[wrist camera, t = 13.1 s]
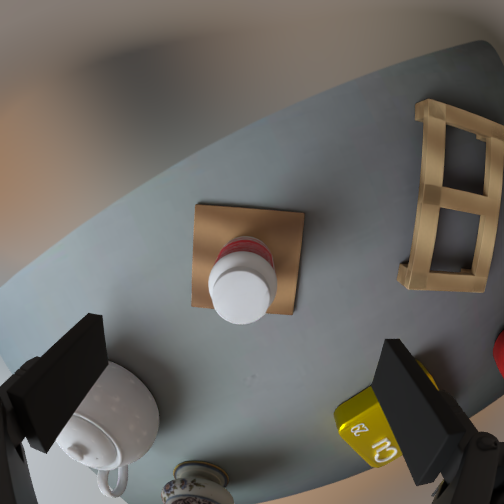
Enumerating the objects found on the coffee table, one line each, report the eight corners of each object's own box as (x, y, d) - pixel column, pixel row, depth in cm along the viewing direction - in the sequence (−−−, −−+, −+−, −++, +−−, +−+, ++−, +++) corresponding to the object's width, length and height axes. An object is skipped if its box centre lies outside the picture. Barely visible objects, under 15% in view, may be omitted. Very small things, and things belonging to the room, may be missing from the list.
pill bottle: (210, 244, 36) (191, 273, 25) (264, 228, 35) (267, 250, 25) (228, 294, 37) (217, 340, 26) (279, 280, 37) (288, 322, 26)
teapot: (48, 392, 43) (9, 440, 29) (84, 325, 39) (31, 376, 26) (136, 455, 45) (114, 512, 32) (191, 403, 42) (172, 475, 28)
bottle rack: (414, 103, 32) (428, 98, 29) (488, 128, 32) (504, 126, 29) (396, 280, 37) (407, 289, 34) (470, 284, 37) (484, 292, 34)
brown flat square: (196, 204, 35) (195, 204, 35) (304, 212, 35) (304, 213, 35) (192, 304, 38) (191, 306, 38) (292, 313, 38) (292, 315, 38)
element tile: (443, 406, 42) (455, 422, 37) (369, 454, 44) (376, 473, 40) (415, 352, 39) (429, 370, 35) (327, 410, 42) (333, 432, 37)
